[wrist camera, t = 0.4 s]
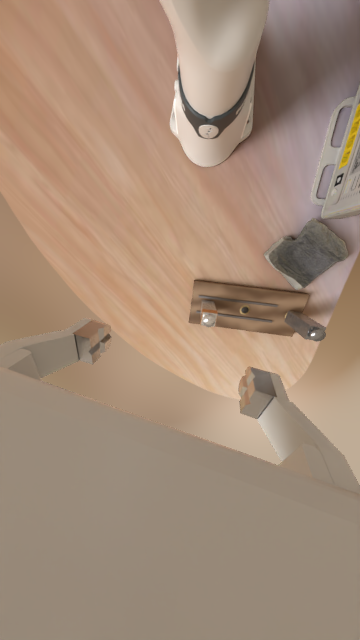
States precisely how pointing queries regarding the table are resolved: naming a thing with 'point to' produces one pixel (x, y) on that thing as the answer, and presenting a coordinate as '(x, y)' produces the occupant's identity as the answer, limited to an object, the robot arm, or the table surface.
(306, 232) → the fossil
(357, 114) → the network device
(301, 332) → the fixed leg
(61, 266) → the table surface
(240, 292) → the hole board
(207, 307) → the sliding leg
